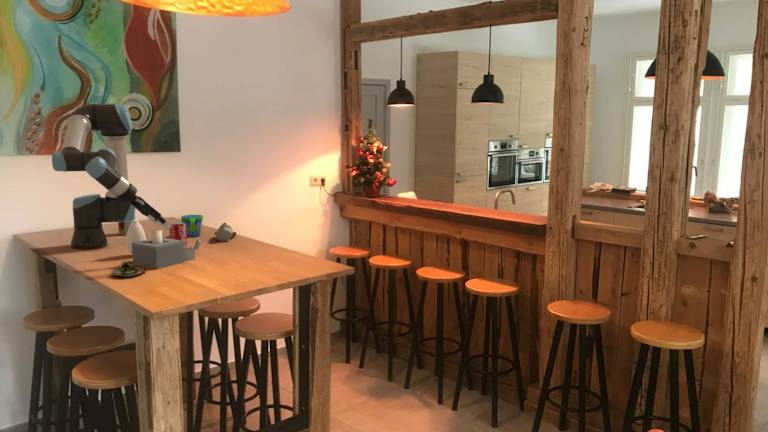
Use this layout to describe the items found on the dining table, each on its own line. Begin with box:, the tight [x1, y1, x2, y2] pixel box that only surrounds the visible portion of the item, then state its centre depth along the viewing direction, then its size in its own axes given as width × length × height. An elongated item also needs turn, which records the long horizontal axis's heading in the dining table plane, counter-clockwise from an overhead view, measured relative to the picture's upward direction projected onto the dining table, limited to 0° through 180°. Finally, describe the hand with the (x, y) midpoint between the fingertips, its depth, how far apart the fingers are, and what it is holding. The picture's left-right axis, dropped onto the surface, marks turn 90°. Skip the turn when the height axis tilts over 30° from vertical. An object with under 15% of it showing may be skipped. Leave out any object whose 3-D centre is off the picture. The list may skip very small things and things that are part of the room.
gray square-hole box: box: [131, 237, 185, 270], centre depth 247 cm, size 14×14×9 cm
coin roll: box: [151, 229, 163, 244], centre depth 248 cm, size 4×4×12 cm
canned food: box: [117, 221, 132, 236], centre depth 306 cm, size 8×8×12 cm
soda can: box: [168, 221, 188, 250], centre depth 269 cm, size 7×7×13 cm
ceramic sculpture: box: [214, 222, 238, 243], centre depth 297 cm, size 11×9×15 cm
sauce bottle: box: [125, 214, 147, 254], centre depth 260 cm, size 8×8×18 cm
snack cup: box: [180, 214, 204, 238], centre depth 304 cm, size 16×10×10 cm
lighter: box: [184, 239, 202, 261], centre depth 256 cm, size 7×2×8 cm, turn 128°
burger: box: [110, 258, 146, 279], centre depth 229 cm, size 12×12×8 cm
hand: (165, 226), depth 248 cm, fingers open, 8 cm apart
